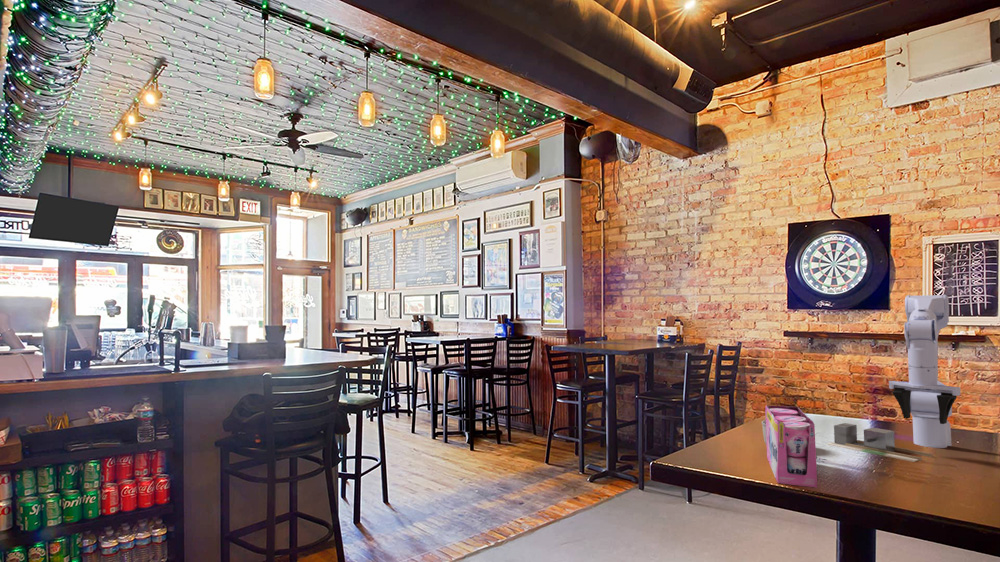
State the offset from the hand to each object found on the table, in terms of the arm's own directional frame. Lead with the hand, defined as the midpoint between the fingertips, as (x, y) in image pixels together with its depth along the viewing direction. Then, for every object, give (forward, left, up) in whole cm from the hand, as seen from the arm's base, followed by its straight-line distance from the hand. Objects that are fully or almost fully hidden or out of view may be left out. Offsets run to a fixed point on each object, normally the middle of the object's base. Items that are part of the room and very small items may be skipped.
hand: (924, 420), depth 136 cm
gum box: (+39, -13, -10) cm, 42 cm away
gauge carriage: (+6, -9, -9) cm, 14 cm away
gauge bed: (+4, -9, -10) cm, 14 cm away
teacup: (+21, -25, -10) cm, 34 cm away
